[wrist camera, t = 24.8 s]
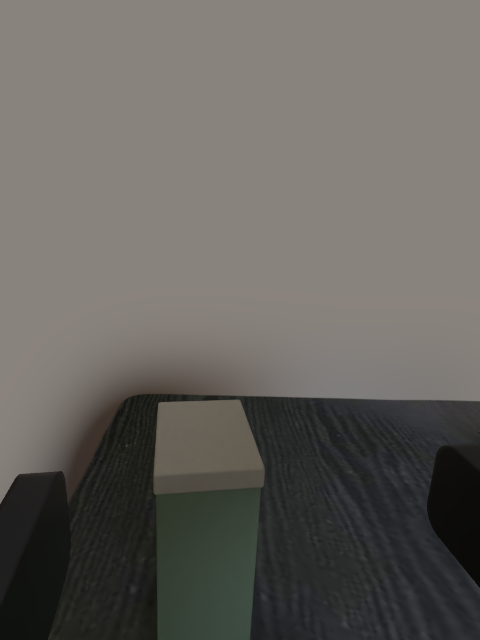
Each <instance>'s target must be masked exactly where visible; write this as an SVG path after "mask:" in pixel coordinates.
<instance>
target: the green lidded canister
mask: <svg viewBox="0 0 480 640" xmlns="http://www.w3.org/2000/svg"><path fill="white" fill-rule="evenodd" d="M264 473H265V468H264V465H263V463H262V460H261V457H260V454H259V452H258V449H257V446H256V443H255V440H254V438H253V435H252V432H251V429H250V427H249V424H248V421H247V418H246V416H245V413H244V410H243V407H242V404H241V402H240V400H219V401H188V402H160V403H159V404H158V416H157V431H156V446H155V461H154V494H155V495H156V533H157V640H250V632H251V618H252V604H253V590H254V576H255V562H256V548H257V534H258V520H259V506H260V492H261V487H263V485H264Z"/></svg>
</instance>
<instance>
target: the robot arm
mask: <svg viewBox="0 0 480 640" xmlns="http://www.w3.org/2000/svg"><path fill="white" fill-rule="evenodd" d="M427 511H428V517H429V520H430V523H431V526H432V528H433V530H434V531H435V533H436V534H437V536H438V537H439V538H440V539H441V541H442V542H443V543H444V544H445V546H446V547H447V548H448V549H449V550H450V552H451V553H452V554H453V555H454V557H455V558H456V559H457V560H458V562H459V563H460V564H461V565H462V566H463V568H464V569H465V570H466V571H467V573H468V574H469V575H470V576H471V578H472V579H473V580H474V581H475V583H476V584H477V585H478V586H479V587H480V445H479V444H461V445H446V446H442V447H441V448H440V449H439V450H438V452H437V454H436V459H435V464H434V470H433V475H432V480H431V486H430V491H429V496H428V502H427ZM70 548H71V535H70V524H69V514H68V504H67V493H66V483H65V477H64V474H63V472H62V471H59V472H47V473H46V472H45V473H30V474H20V475H18V476H17V477H16V478H15V480H14V482H13V483H12V485H11V487H10V489H9V490H8V492H7V494H6V495H5V497H4V499H3V501H2V502H1V504H0V640H48V637H49V633H50V630H51V626H52V623H53V620H54V616H55V613H56V609H57V606H58V602H59V599H60V595H61V592H62V588H63V585H64V581H65V578H66V574H67V570H68V565H69V559H70Z"/></svg>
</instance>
